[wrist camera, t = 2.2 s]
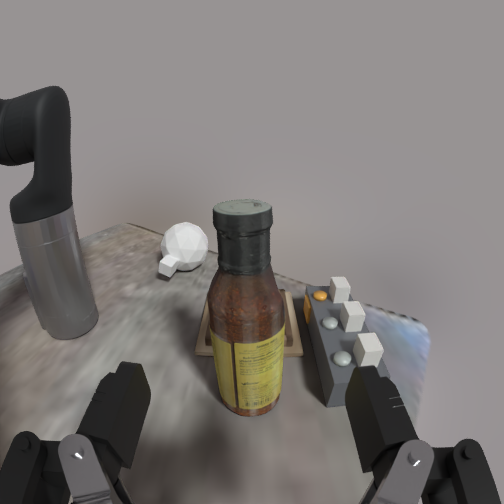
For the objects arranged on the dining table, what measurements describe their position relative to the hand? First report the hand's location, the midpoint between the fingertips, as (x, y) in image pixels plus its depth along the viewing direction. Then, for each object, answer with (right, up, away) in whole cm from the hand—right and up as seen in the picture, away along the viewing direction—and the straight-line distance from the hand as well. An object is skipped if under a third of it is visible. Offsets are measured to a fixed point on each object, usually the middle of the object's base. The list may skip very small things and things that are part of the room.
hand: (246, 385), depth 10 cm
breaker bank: (+11, -7, +24) cm, 27 cm away
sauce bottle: (0, -10, +18) cm, 20 cm away
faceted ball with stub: (-13, +1, +43) cm, 45 cm away
